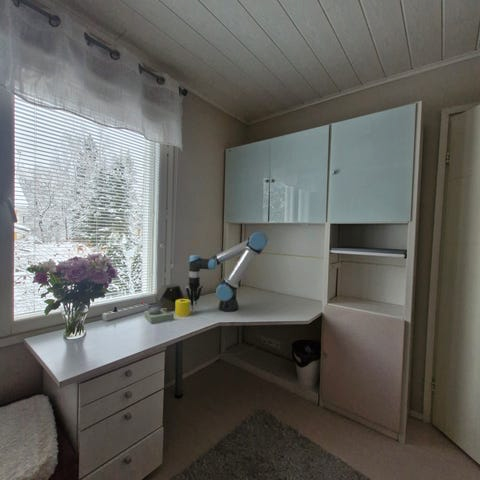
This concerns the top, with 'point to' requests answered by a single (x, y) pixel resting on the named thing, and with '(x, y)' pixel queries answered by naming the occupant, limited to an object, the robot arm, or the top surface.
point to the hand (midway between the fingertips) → (193, 309)
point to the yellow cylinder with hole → (182, 307)
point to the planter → (168, 296)
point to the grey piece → (158, 315)
